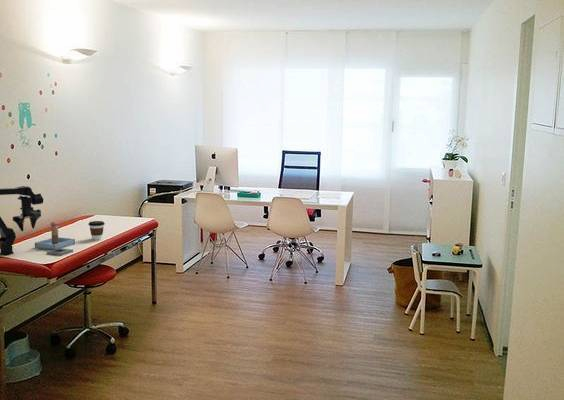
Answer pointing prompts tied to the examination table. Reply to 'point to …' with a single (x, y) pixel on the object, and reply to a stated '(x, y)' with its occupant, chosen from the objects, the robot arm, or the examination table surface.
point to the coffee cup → (96, 229)
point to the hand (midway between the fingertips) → (27, 229)
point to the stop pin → (54, 232)
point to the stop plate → (59, 251)
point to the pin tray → (48, 244)
